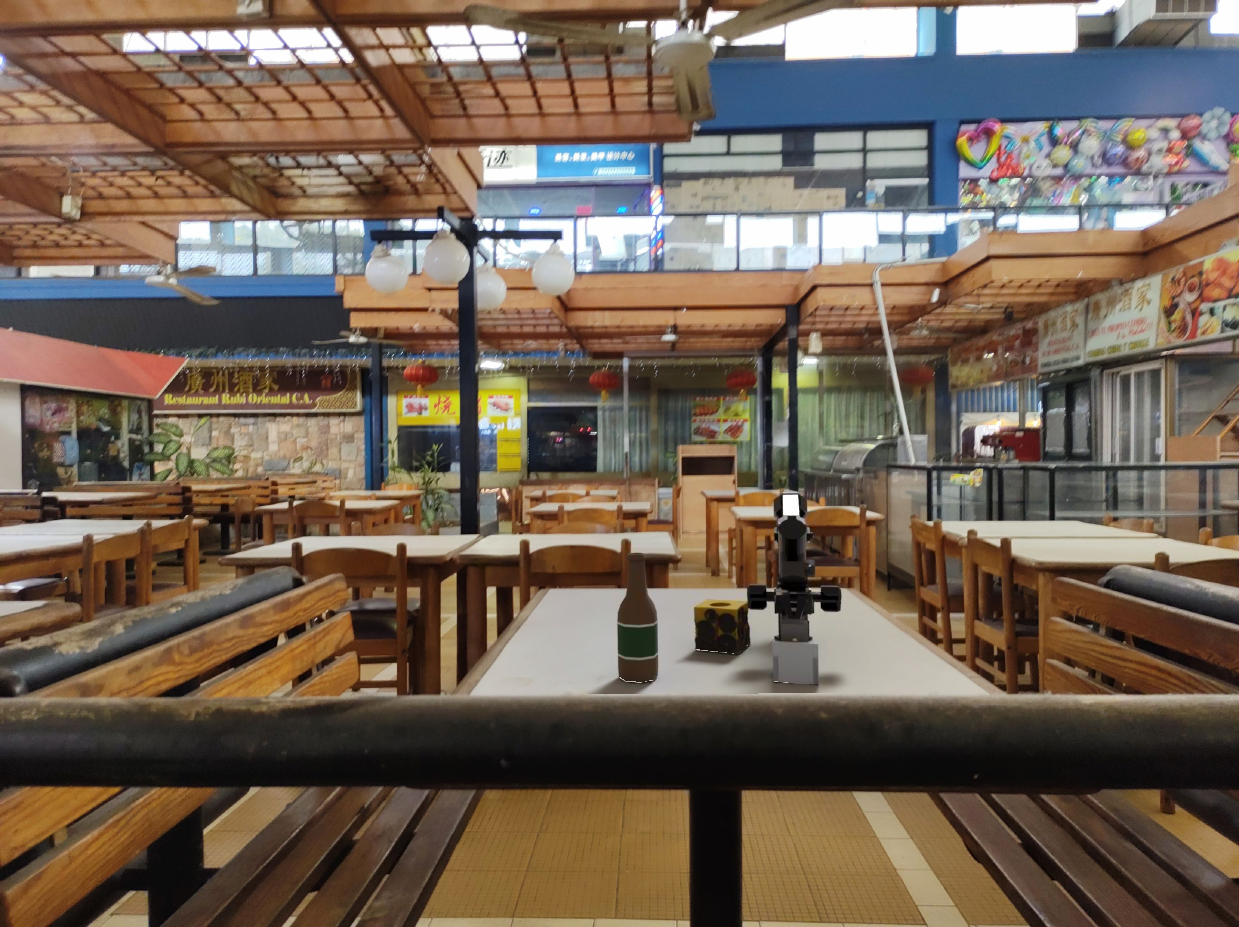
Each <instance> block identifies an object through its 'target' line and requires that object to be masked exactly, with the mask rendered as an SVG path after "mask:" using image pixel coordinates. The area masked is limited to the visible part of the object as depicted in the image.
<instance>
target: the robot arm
mask: <svg viewBox="0 0 1239 927" xmlns="http://www.w3.org/2000/svg"><path fill="white" fill-rule="evenodd" d="M772 503H773V518H774V519H776V527H775V526H773V539H774V542H773V543H775V544H777V547H778V574H777V577H776V587H774V588H773V591H767V584H763V583H762V584H759V583H750V584H749V585H747V587H746V599H747V600H746V601H747V602H748V610H751V611H752V610H753V611H754V610H755V611H764V610H765V609H767V608H768V603H773V604H774V605H773V606H774V614H775V615H778V616H777V617H778V618H777V620H778V621H777V622H778V623H777V624H778V625H777V626H778V632H777V633H778V635H777V634H776V635H774V636H773V638H774V639H775V638H776V639H777V640H779V641H781V619H807V621H808V641H810V640H813V638H814V637H813V636H811V635H810V620H809V616H811V615H812V614H813V615H814V614H815V603H819V604H820V609H821V610H822V611H823V612H825V613H838V612H841V611H842V610H841V609H842V608H841V607H842V588H841V587H839V585H820V591H812V588H811V587H809V580H808V579H809V578H815V577H816V561H815V559H807V552H806V551H807V544H810V543H811V540H812V539H813V538H814V534H813V532H812V530H811V529H810V527H809V526H807V523H806V518H808V499H807V498H806V497H804V496H802V493H801V492H800V491H796V490H795V491H793V490H792V491H782V492H780V493H779V495H778V496H776V497H775V498H773V502H772ZM776 639H775V640H776Z"/></svg>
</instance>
